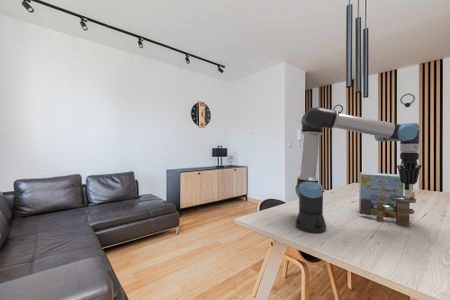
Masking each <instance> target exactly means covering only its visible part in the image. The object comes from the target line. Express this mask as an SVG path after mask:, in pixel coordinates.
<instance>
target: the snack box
mask: <svg viewBox="0 0 450 300" xmlns="http://www.w3.org/2000/svg"><path fill="white" fill-rule="evenodd" d="M404 191H405V189H404V183H402V182H401V180H400V175H399V174H395V173H394V174H392V173H377V172H361V171H360V172H359V193H358V195H359V196H358V201H359V202H358V210H359V211H358V212H359V213H361V214H362V198H365V199H371V203H373V204H377V202H379V203H383V205H388V206H395V207H396V201H394V200H391V199H390V196H391V195H401V196H404ZM374 215H375V216H377V209H372V208H371V216H374ZM383 217H388V218H395V219H396V212H393V211H386V210H383Z"/></svg>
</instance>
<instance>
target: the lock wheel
mask: <svg viewBox="0 0 450 300" xmlns="http://www.w3.org/2000/svg"><path fill="white" fill-rule="evenodd" d="M415 193H416V192H415V191H413V192H412V197H409V196H405V195H403V196H401V195H391V196H390V199H391V200H394V201H398V202H404V203H410V204H415V203H417V198H416V197H415V196H416V194H415Z"/></svg>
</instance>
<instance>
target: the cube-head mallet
mask: <svg viewBox="0 0 450 300" xmlns="http://www.w3.org/2000/svg"><path fill="white" fill-rule="evenodd" d="M378 205H381V204H378ZM371 208H372V209H377V204H373V203H371V199H365V198H362V213H361V215H364V216H372V214H371ZM383 210H386V211H393V212H397V207H395V206H388V205H383ZM414 214H415V210H414V208H410V215H414Z"/></svg>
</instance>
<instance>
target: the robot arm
mask: <svg viewBox="0 0 450 300" xmlns="http://www.w3.org/2000/svg"><path fill="white" fill-rule="evenodd" d="M334 128H335V129H339V130H345V131H349V132H354V133H355V132H356V133H359V134H364V135H370V136H373V137H374V139H375V141H376V142H400V143H399V144H400V146H399V151H400V153H399V159H400V160H401V162H400V164H397V165H396V167H397V169H398V175H400V180H401V182H402V183H404V196H408V197H412V192H414V191H413V190H414V185H416V184H417V183H418V179H419V174H420V170H421V168H422V165H421V164H419V163H418V160H419V159H420V153H419V152H420V125H419V123H418V122H405V123H400V124H399V123H393V122H389V121H382V120H379V119H378V120H377V119H372V118H366V117H361V116H356V115H350V114H345V113H341V112H339V111H338V110H333V109H329V108H326V107H321V106H320V107H318V106H316V107H315V106H314V107H312V108H310V109H308V110H307V111H306V112H305V113H304V114H303V115H302V117H301V134H302V135H303V141H302V152H301V164H300V165H301V166H300V174H299V176H297V178H296V179H297V180H296V185H295V194H296V195H297V197H298V214H297V215H296V216H297V217H296V219H295V227H296V228H297V229H298V230H300V231H303V232H305V233H311V234H321V233H325V232H326V231H327V223H326V220H325V217H324V215H323V214H324V210H323V209H324V208H323V207H324V189H323V185H322V184H321V183H319V178H317V168H318V167H317V166H318V159H319V156H318V155H319V145H320V136H322V135H323V134H324V129H330V130H332V129H334Z"/></svg>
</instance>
